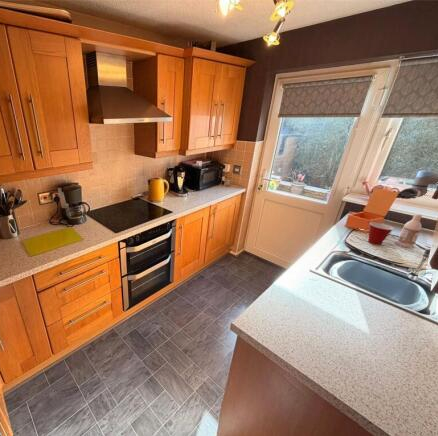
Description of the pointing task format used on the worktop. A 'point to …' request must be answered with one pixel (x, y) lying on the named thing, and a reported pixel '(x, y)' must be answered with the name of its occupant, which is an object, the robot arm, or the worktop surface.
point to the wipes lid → (380, 202)
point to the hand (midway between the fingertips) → (390, 196)
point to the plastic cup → (378, 233)
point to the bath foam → (410, 232)
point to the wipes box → (363, 220)
